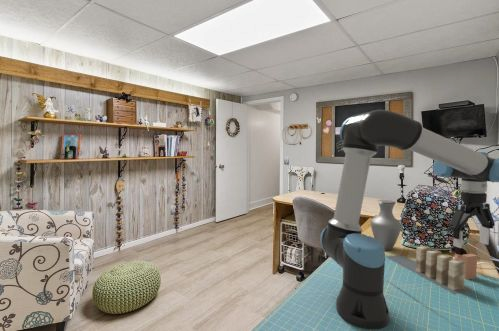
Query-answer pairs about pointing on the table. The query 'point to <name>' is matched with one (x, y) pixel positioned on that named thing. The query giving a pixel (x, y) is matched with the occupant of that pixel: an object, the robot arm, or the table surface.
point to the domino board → (412, 266)
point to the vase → (386, 225)
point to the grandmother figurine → (458, 251)
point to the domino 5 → (470, 265)
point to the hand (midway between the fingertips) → (470, 245)
